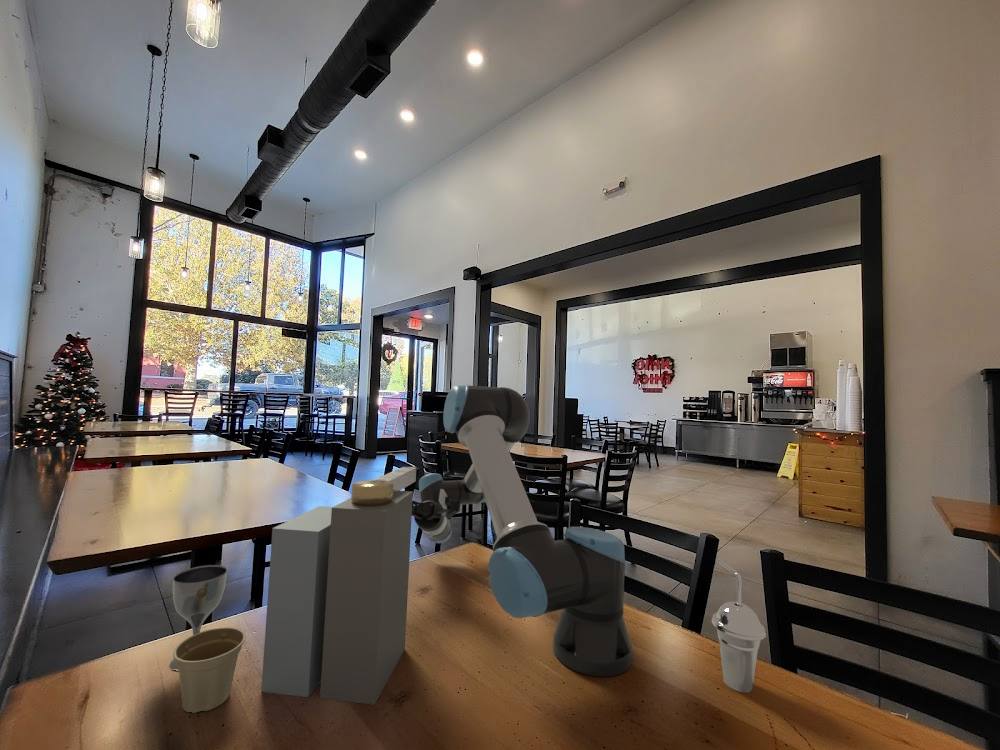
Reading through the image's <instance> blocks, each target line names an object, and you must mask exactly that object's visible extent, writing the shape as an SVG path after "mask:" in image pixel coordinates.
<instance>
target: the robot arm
mask: <svg viewBox="0 0 1000 750" xmlns="http://www.w3.org/2000/svg"><path fill="white" fill-rule="evenodd" d="M530 415H531V414H530V408H529V406H528V403H527V401H526V400H525V398H524V397H523V396H522V395H521V394H520V393H519V392H518V391H516V390H514V389H512V388H509V387H503V386H502V387H498V386H482V385H469V384H465V385H463V384H462V385H455V386H452V388H451V389H450V390H449V391H448V394H447V396H446V398H445V401H444V408H443V417H442V418H443V419H442V420H443V426H444V430H445V432H447V433H450V434H454V433H456V436H457V439H458V442H459V444H460V445H462V446H463V447H465V448H467V450H468V452H469V456H470V458H471V462H472V464H471V465H470V467H469V469H468V471H467V472H466V474H465V476H464V478H463V479H461V480H460V479H458V480H457V479H456V480H444V478H443V476H442V474H440V473H436V472H434V473H428V474H425V475H423V476H422V477H421V478H419V480H418V489H419V491H418V496H419V499H420V502H418V501H415V500H412V517H413V518H414V522H415V524H416V525H417V526H418V527H419V528H420V530H421V531H422V532H423V533H424V534H425V535H426V537H427V539H429V541H431V542H434V543H435V544H443V543H446V542H447V541H448V540H449V539H450V538H451V537H452V533H453V524H452V521H450V520H452V517H454V515H456V514H458V513H459V512H460V510H461V505H472V504H473V505H478V504H481V503H485V504H486V507H487V511H488V513H489V516H490V520H491V523H492V525H493V528H494V531H495V535H496V539H495V541H494V544H493V545H492V550H493V552H492V553H491V554H490V556H489V560H488V566H487V567H488V569H487V570H488V572H489V574H490V575H489V576H488V578H489V585H490V588H491V591H492V593H493V595H494V597H495V598H494V599H495V600H496V601H497V603H498V605H499V607H501V609H502V610H503V611H504V612H505V613H506V614H508V615H509V616H511V617H513V618H517V619H524V618H531V617H533V618H535V617H540V616H542V615H543V614H549V613H552V612H556V611H560V610H561V611H560V615H559V617H558V621H557V623H556V625H555V629H554V630H553V631H554V632H553V634H552V635H553V636H552V637H553V638H552V650H553V653H554V656H555V657H556V659H558V661H559V662H561V663H562V664H563V665H564V666H565V667H568V668H569V669H571V670H573V671H575V672H577V673H580V674H583V675H587V676H591V677H592V676H593V677H598V678H599V677H603V678H604V677H606V678H607V677H613V676H619V675H621V674H623V673H625V672H626V671H627V670H629V669H630V667H631V665H632V663H633V647H632V645H633V644H632V642H631V639H630V634H629V632H628V628H627V624H626V621H625V618H624V606H625V605H624V601H625V600H624V599H625V597H624V596H625V575H626V572H625V571H626V563H627V562H626V559H625V544H624V543H623V541H622V539H620V538H619V537H618V536H616V535H615V534H612V533H610V532H607V531H604V530H601V529H596V528H592V527H584V526H569V527H567V528H566V529H565V531H564V534H563V536H564V539H558V540H555V539H554V538H553V535H552V532H551V531H550V528H549V527H548V525H547V524H545V523H542V522H540V521H538V520H537V516H536V515H535V513H534V510H533V507H532V505H531V502H530V499H529V497H528V495H527V492H526V490H525V486H524V485H523V482H522V481H521V478H520V475H519V473H518V470H517V468H516V466H515V463H514V461H513V458H512V456H511V453H510V451H511V450H512V448H513V446H514V445H515V444H516V443H519V442H520V441H522V439H523V437H524V436H525V435H526V433H527V431H528V429H529V425H530V417H531V416H530Z"/></svg>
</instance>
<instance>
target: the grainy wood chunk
mask: <svg viewBox="0 0 1000 750" xmlns="http://www.w3.org/2000/svg"><path fill="white" fill-rule="evenodd" d="M416 481H417V467H414V466H413V467H412V466H402V467H400V468H396V469H395V470H393V471H391V472H388V473H385V474H383V475H382V476H379V477H377V478H374V479H373V480H372V479H371V480H370V479H369V480H361V481H356V482H354V483H353V482H352V484H351V497H350V498H351V503H352V504H354V505H357V506H368V507H370V506H382V505H387V504H390V503H392V502H393V494H395V493H397V492H398V491H403V489H405V488H407V487H408V486H410V485H412V484H413V483H415V482H416Z"/></svg>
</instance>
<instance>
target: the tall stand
mask: <svg viewBox="0 0 1000 750" xmlns="http://www.w3.org/2000/svg"><path fill="white" fill-rule="evenodd" d="M413 494H414V491H409V490H400V491H398V492H397V493H395V494H393V502H392V503H390V504H387V505H382V506H370V507H368V506H357V505H354V504H352V503H351V497H350V498H348V499H345V500H344V501H342V502H340V503H338V504H336V505H334V506H331V507H332V512H331V528H330V544H329V561H328V577H327V593H326V609H325V625H324V642H323V658H322V674H321V681H320V690H319V691H320V693H319V699H320V698H324V699H323V700H329V701H330V700H331V701H337V700H338V701H339V702H345V703H346V702H348V703H357V704H364V705H374V704H376V703H377V702H378V699H379V697H380V695H381V694H382V692H383V690H384V688H385V686H386V684H387V683H388V681H389V679H390V677H391V676H392V674H393V672H394V670H395V668H396V666H397V665H398V663H399V662H400V659H401V657H402V656H403V654H404V653H405V650H406V635H407V631H406V630H407V615H408V614H407V613H408V597H409V594H408V593H409V575H410V574H409V573H410V553H411V534H412V517H413V516H412V501H413V498H414V497H413V496H414V495H413Z"/></svg>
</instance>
